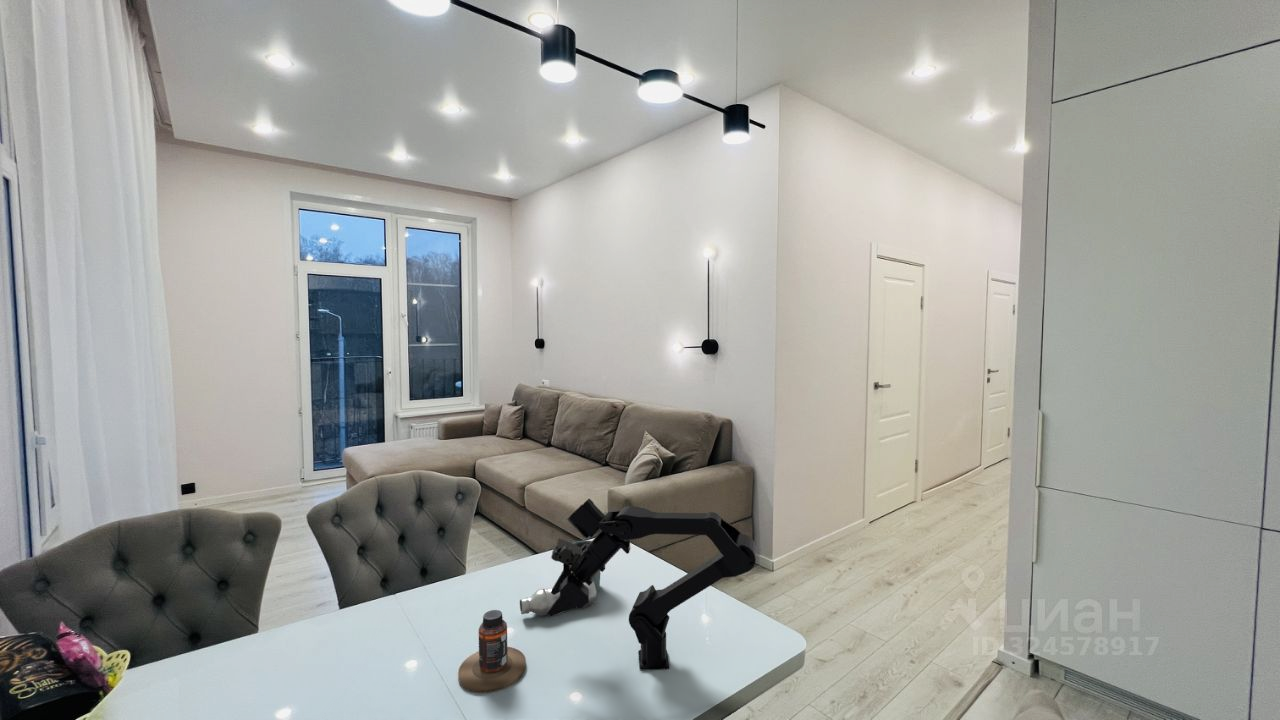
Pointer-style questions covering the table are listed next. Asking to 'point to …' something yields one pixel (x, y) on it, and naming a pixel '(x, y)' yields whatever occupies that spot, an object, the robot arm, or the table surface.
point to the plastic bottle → (548, 600)
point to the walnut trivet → (490, 682)
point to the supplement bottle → (493, 642)
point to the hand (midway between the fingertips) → (550, 603)
